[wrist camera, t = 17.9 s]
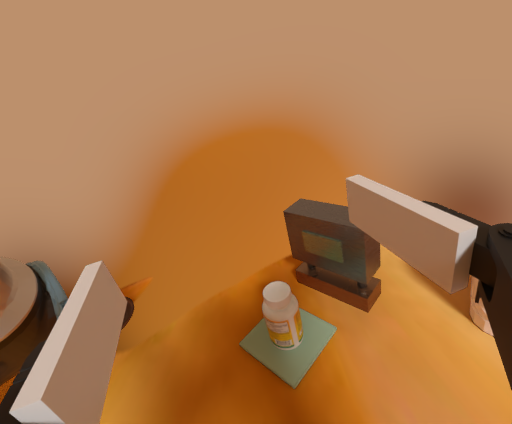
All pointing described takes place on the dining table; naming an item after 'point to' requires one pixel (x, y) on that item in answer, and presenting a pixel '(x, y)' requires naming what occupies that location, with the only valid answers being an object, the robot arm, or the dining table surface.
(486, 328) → the white cup
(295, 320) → the supplement bottle
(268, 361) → the green mat
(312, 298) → the dining table surface
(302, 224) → the mounted unit
